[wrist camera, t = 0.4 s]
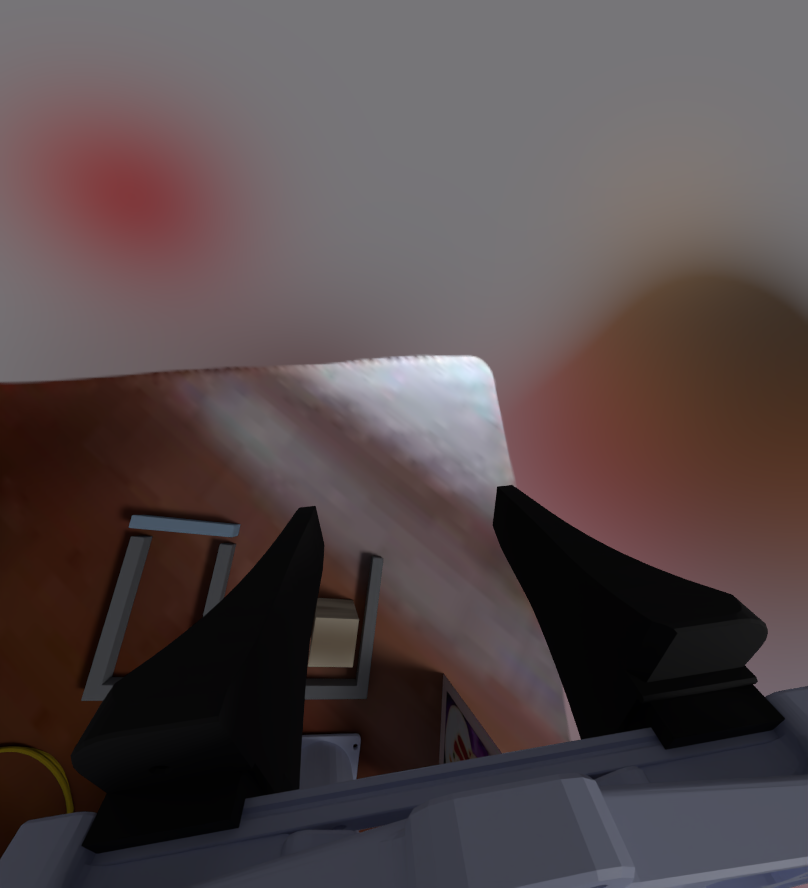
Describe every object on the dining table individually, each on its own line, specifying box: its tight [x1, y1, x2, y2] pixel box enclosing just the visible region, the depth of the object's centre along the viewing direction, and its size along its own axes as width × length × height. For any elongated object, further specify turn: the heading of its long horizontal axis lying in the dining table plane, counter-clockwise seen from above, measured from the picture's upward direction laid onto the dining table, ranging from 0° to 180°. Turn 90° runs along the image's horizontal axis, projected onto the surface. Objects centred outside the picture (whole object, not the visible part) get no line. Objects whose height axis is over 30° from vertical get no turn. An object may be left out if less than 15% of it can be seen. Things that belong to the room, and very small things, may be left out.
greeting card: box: [439, 673, 502, 765], centre depth 29 cm, size 11×7×15 cm, turn 175°
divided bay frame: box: [81, 515, 383, 701], centre depth 33 cm, size 16×26×2 cm, turn 83°
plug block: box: [308, 598, 359, 667], centre depth 32 cm, size 4×4×7 cm
